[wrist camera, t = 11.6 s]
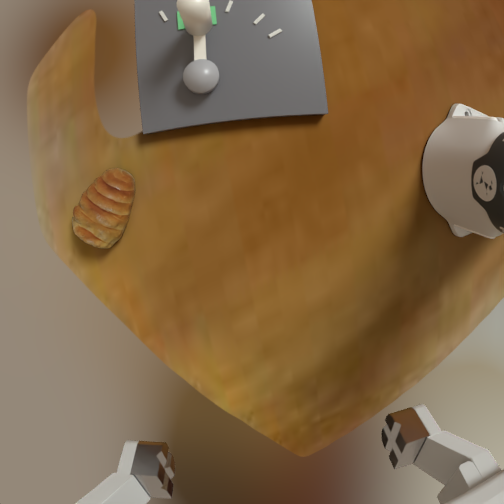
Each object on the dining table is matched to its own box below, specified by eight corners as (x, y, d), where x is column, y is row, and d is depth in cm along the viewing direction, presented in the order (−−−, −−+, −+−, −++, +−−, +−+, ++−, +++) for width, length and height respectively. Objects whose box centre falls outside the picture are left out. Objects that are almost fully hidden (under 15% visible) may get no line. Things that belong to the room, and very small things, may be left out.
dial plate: (304, -18, 27) (307, -24, 25) (324, 114, 33) (328, 113, 31) (137, -1, 26) (134, -6, 25) (146, 134, 32) (142, 133, 31)
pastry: (106, 156, 33) (93, 157, 29) (151, 184, 34) (143, 189, 31) (73, 222, 35) (60, 230, 31) (116, 250, 37) (105, 260, 33)
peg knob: (220, 92, 30) (217, 77, 23) (185, 96, 30) (173, 82, 23) (216, 9, 26) (212, -22, 19) (183, 13, 26) (172, -17, 19)
